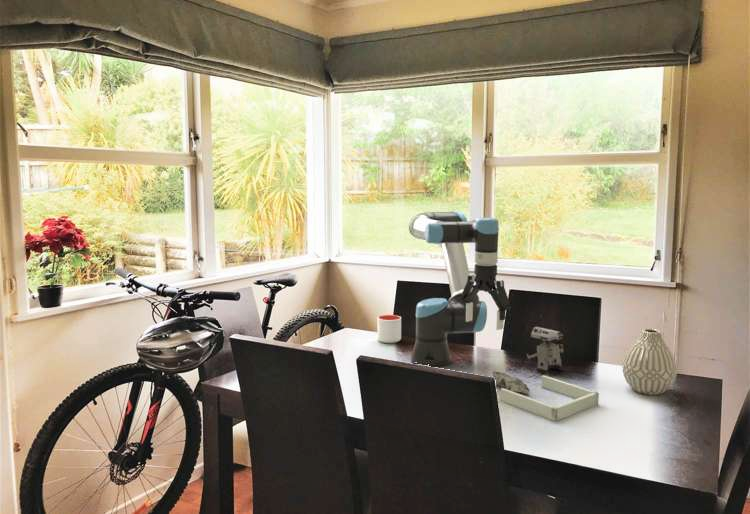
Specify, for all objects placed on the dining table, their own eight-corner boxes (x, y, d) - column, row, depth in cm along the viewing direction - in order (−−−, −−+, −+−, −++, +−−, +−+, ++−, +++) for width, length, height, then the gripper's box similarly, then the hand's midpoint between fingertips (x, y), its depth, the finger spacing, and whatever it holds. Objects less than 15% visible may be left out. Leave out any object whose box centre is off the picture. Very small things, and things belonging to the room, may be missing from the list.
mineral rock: (533, 395, 192) (533, 382, 191) (510, 398, 190) (510, 384, 189) (510, 380, 206) (511, 368, 206) (489, 382, 204) (489, 370, 203)
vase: (613, 391, 195) (616, 331, 193) (631, 378, 207) (635, 322, 204) (665, 403, 184) (669, 340, 182) (681, 390, 196) (685, 330, 193)
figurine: (539, 363, 225) (540, 323, 223) (565, 370, 215) (567, 330, 213) (523, 367, 219) (524, 327, 217) (549, 375, 210) (550, 334, 208)
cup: (375, 343, 252) (375, 319, 250) (379, 337, 262) (379, 314, 260) (399, 344, 250) (399, 320, 249) (402, 338, 260) (402, 315, 259)
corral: (500, 400, 188) (500, 388, 187) (543, 385, 200) (543, 375, 200) (554, 421, 171) (555, 409, 171) (598, 404, 184) (598, 392, 184)
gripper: (451, 260, 210) (449, 319, 214) (508, 270, 191) (506, 334, 195) (465, 258, 215) (464, 316, 218) (523, 267, 196) (520, 330, 199)
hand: (484, 325), depth 206 cm, fingers open, 13 cm apart
